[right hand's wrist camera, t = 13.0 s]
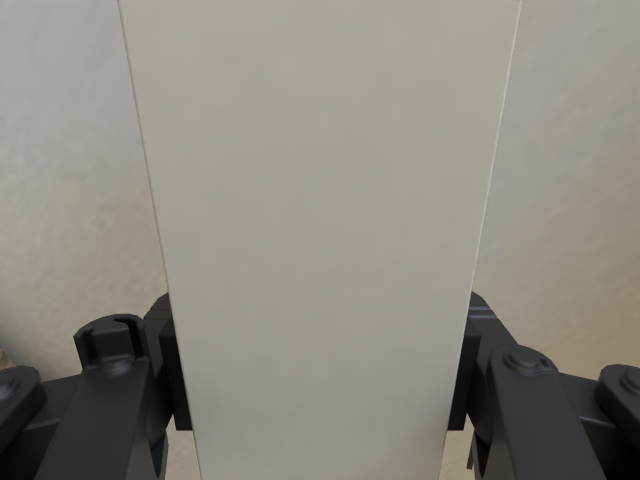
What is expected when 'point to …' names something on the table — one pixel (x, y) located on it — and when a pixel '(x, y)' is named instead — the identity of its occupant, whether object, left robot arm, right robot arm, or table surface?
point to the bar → (319, 219)
